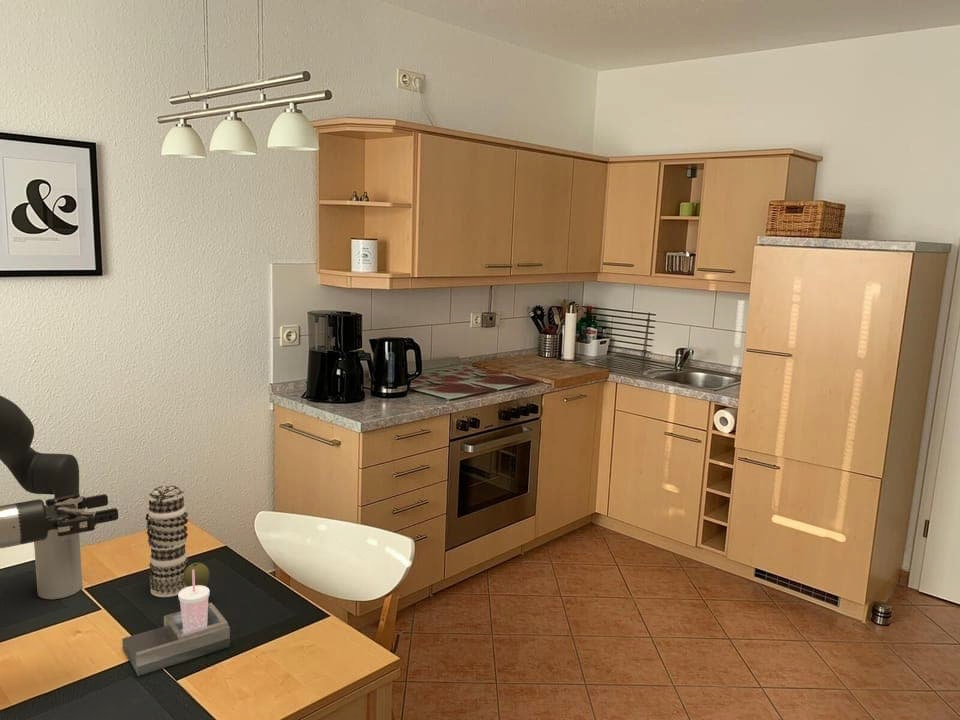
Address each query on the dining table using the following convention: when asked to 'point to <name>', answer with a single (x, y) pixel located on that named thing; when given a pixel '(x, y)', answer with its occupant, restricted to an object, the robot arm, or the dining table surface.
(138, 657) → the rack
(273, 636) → the dining table surface
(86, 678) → the dining table surface
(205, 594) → the beverage cup
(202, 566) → the light bulb
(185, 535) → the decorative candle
